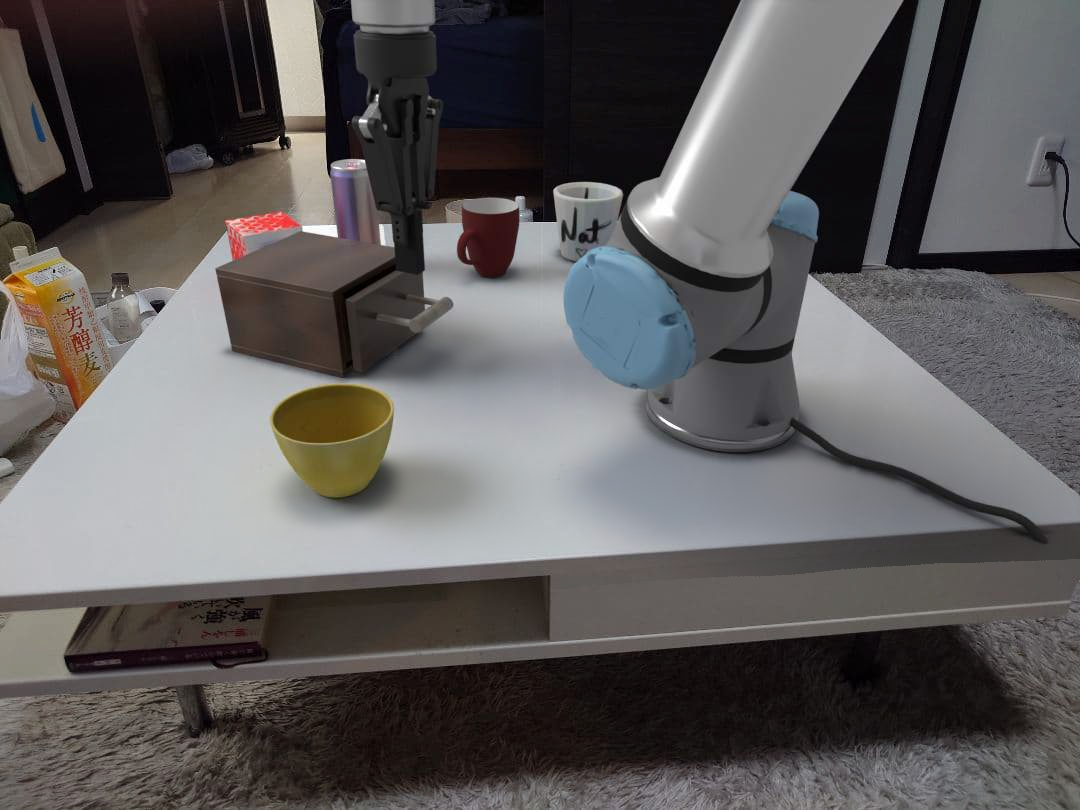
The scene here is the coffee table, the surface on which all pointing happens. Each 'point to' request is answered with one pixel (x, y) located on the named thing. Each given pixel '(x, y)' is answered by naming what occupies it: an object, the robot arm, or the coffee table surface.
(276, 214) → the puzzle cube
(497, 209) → the mug
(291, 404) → the yellow bowl
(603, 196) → the mug
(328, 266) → the cabinet
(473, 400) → the coffee table surface
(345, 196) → the beverage can
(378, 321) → the drawer
